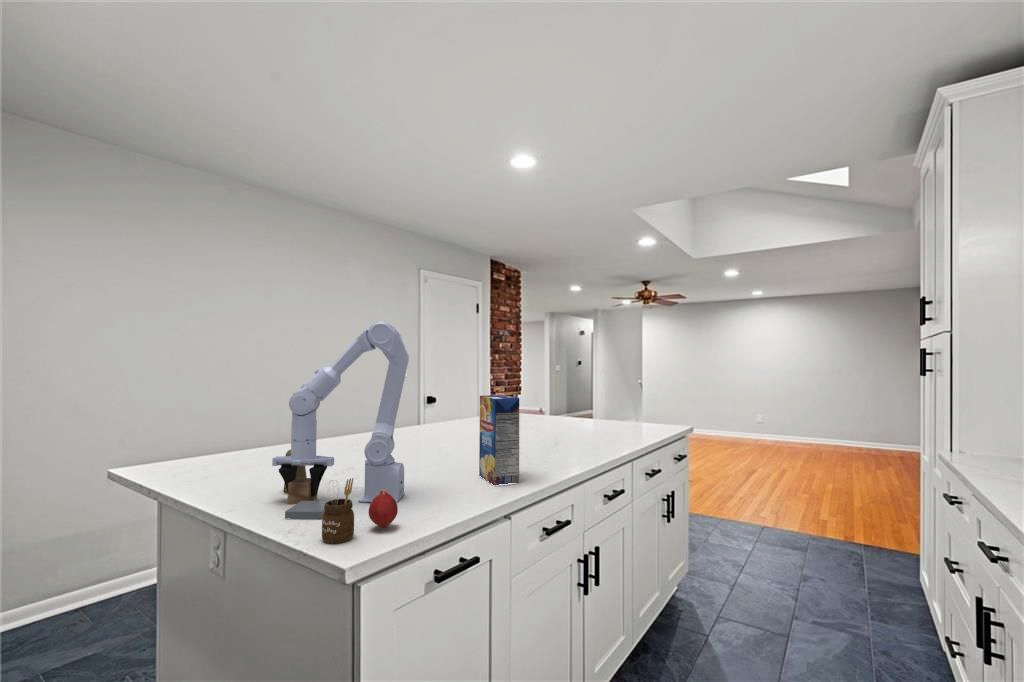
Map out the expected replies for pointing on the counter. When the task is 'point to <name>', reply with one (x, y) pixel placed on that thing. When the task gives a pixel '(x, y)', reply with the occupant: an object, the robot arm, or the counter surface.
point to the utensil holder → (338, 518)
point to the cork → (299, 474)
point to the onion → (383, 509)
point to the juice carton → (499, 439)
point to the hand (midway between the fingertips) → (302, 495)
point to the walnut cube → (300, 491)
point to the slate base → (306, 510)
